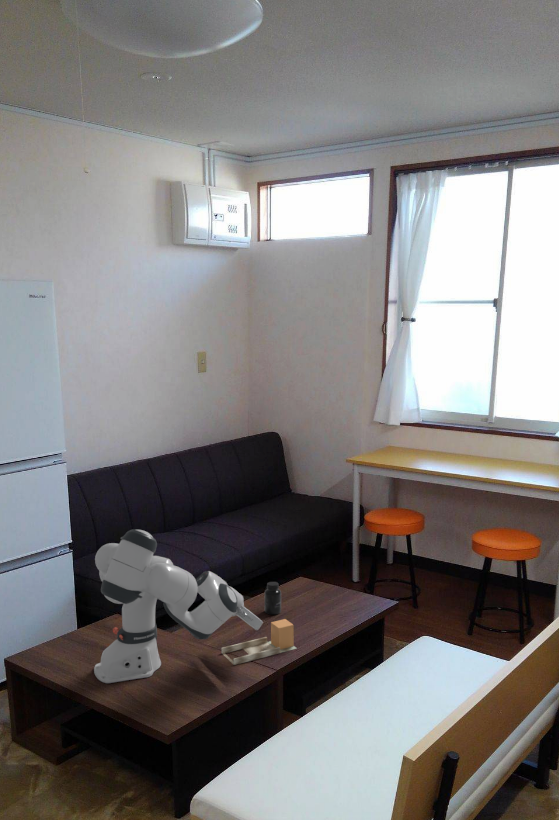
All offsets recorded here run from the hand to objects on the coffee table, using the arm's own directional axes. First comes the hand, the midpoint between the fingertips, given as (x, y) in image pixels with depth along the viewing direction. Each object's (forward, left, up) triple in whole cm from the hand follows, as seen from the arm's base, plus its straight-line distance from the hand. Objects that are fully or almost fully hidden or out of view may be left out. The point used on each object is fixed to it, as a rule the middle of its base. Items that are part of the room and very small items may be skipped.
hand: (256, 623), depth 250 cm
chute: (+1, -1, -11) cm, 11 cm away
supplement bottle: (+23, +30, -11) cm, 40 cm away
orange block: (+10, -1, -10) cm, 14 cm away
